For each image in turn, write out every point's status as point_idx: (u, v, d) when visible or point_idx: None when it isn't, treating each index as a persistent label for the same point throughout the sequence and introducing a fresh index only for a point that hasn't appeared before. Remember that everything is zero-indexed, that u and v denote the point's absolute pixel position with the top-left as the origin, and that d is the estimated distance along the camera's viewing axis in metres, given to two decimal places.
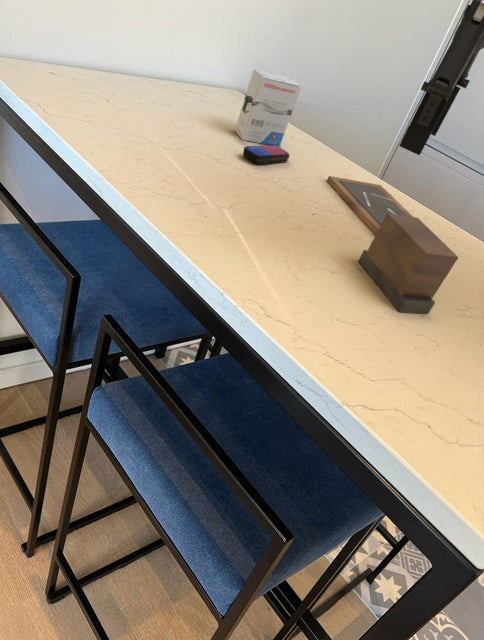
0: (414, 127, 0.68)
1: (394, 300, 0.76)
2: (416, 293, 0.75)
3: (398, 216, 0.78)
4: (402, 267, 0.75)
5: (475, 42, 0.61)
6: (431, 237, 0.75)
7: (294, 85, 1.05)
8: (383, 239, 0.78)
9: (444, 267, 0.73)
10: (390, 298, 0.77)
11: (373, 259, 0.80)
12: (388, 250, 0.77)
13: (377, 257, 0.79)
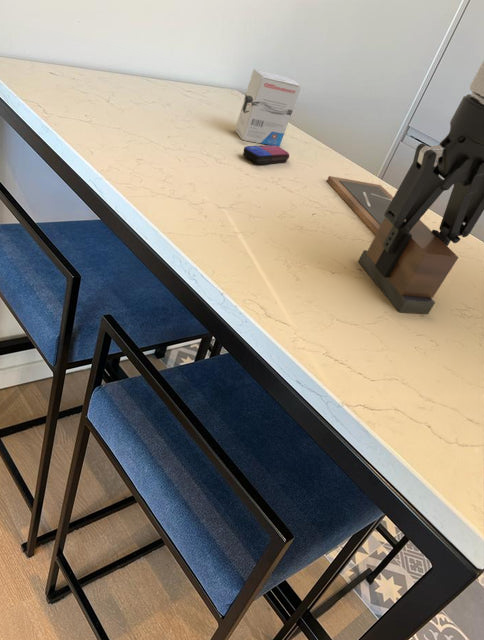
0: (385, 252, 0.77)
1: (394, 300, 0.76)
2: (416, 293, 0.75)
3: None
4: (402, 267, 0.75)
5: (415, 184, 0.68)
6: (431, 237, 0.75)
7: (294, 85, 1.05)
8: (383, 239, 0.78)
9: (444, 267, 0.73)
10: (390, 298, 0.77)
11: (373, 259, 0.80)
12: None
13: (377, 257, 0.79)
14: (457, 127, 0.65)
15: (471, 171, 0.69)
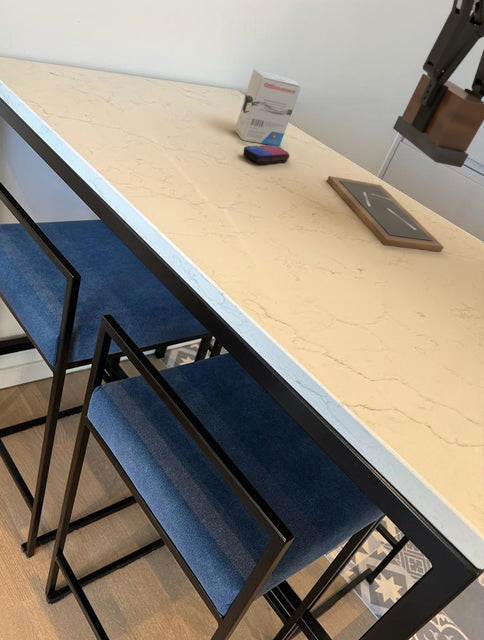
0: (422, 108, 0.82)
1: (430, 152, 0.82)
2: (451, 144, 0.81)
3: None
4: (438, 119, 0.80)
5: (454, 29, 0.73)
6: (465, 92, 0.81)
7: (294, 85, 1.05)
8: (419, 98, 0.84)
9: (478, 117, 0.79)
10: (426, 152, 0.83)
11: (409, 121, 0.86)
12: None
13: (412, 118, 0.85)
14: None
15: None
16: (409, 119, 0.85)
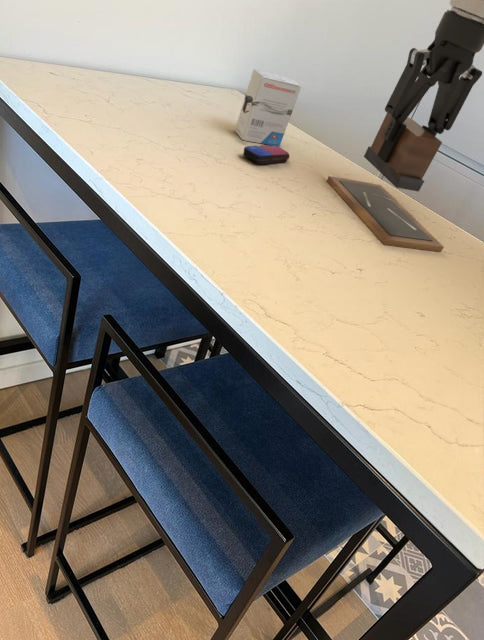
0: (386, 142, 0.98)
1: (392, 179, 0.98)
2: (409, 173, 0.97)
3: None
4: (398, 151, 0.96)
5: (408, 80, 0.89)
6: (421, 129, 0.97)
7: (294, 85, 1.05)
8: None
9: (431, 150, 0.95)
10: (389, 178, 0.98)
11: (376, 151, 1.01)
12: None
13: (379, 149, 1.01)
14: (440, 34, 0.87)
15: (451, 71, 0.90)
16: (376, 150, 1.01)
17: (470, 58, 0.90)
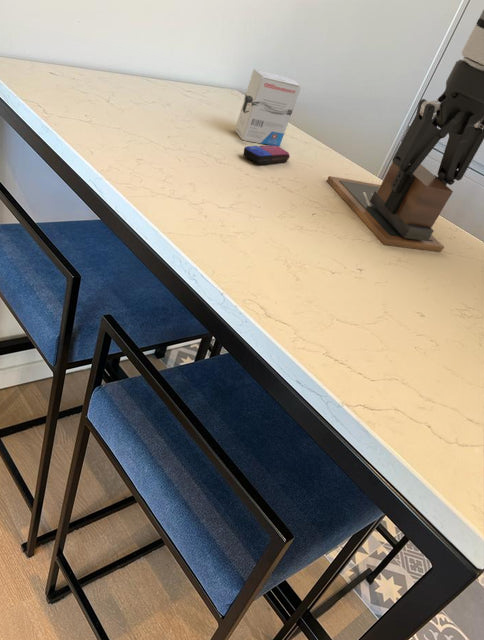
0: (393, 193, 0.93)
1: (400, 229, 0.93)
2: (418, 222, 0.92)
3: None
4: (406, 200, 0.91)
5: (417, 132, 0.84)
6: (430, 176, 0.92)
7: (294, 85, 1.05)
8: (391, 179, 0.95)
9: (441, 200, 0.90)
10: (397, 227, 0.94)
11: (382, 197, 0.97)
12: None
13: (386, 195, 0.96)
14: (451, 85, 0.82)
15: (462, 122, 0.86)
16: (383, 196, 0.96)
17: (483, 108, 0.85)
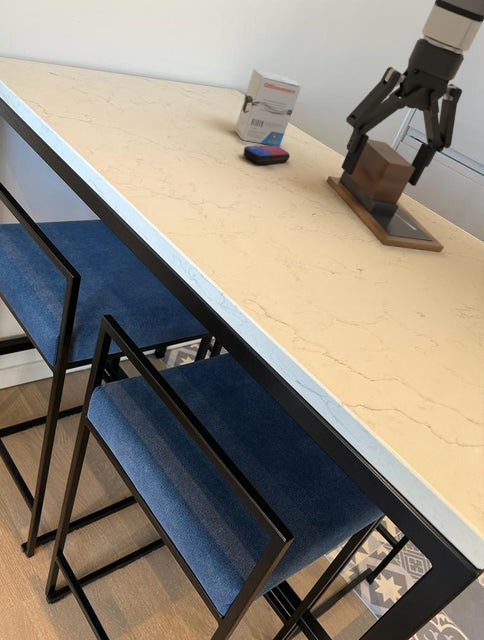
0: (349, 154, 0.95)
1: (366, 204, 0.97)
2: (383, 198, 0.97)
3: (369, 140, 0.99)
4: (372, 177, 0.96)
5: (379, 94, 0.87)
6: (395, 154, 0.97)
7: (294, 85, 1.05)
8: None
9: (404, 176, 0.95)
10: (363, 203, 0.98)
11: (351, 175, 1.01)
12: (362, 166, 0.99)
13: (353, 174, 1.01)
14: (412, 62, 0.86)
15: (425, 98, 0.90)
16: None
17: (444, 85, 0.89)
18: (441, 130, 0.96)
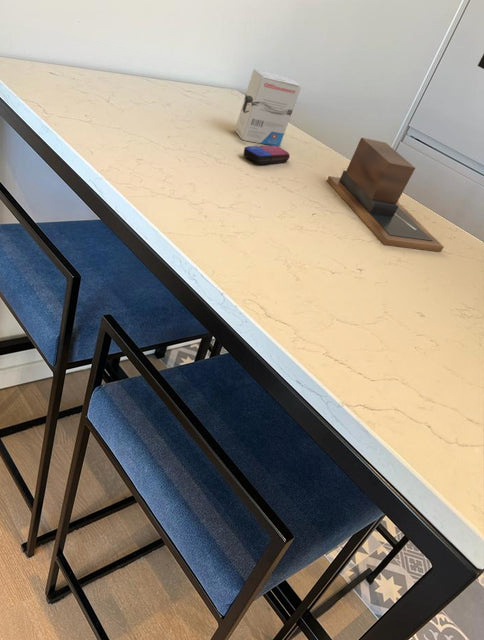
0: None
1: (366, 204, 0.97)
2: (383, 198, 0.97)
3: (369, 140, 0.99)
4: (372, 177, 0.96)
5: None
6: (395, 154, 0.97)
7: (294, 85, 1.05)
8: (358, 158, 0.99)
9: (404, 176, 0.95)
10: (363, 203, 0.98)
11: (351, 175, 1.01)
12: (362, 166, 0.99)
13: (353, 174, 1.01)
14: None
15: None
16: (351, 174, 1.01)
17: None
18: None
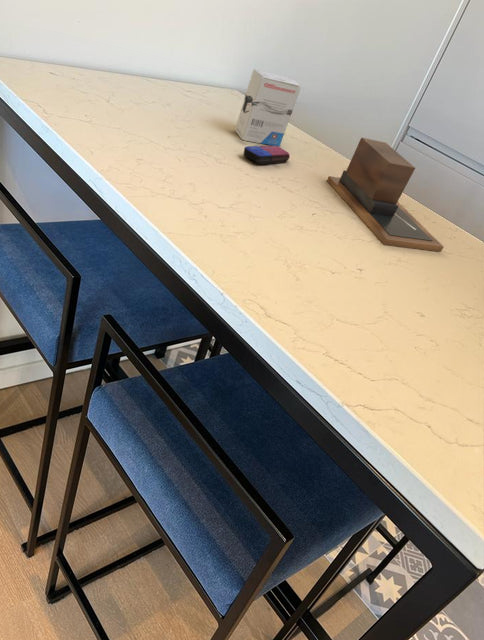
0: None
1: (366, 204, 0.97)
2: (383, 198, 0.97)
3: (369, 140, 0.99)
4: (372, 177, 0.96)
5: None
6: (395, 154, 0.97)
7: (294, 85, 1.05)
8: (358, 158, 0.99)
9: (404, 176, 0.95)
10: (363, 203, 0.98)
11: (351, 175, 1.01)
12: (362, 166, 0.99)
13: (353, 174, 1.01)
14: None
15: None
16: (351, 174, 1.01)
17: None
18: None
